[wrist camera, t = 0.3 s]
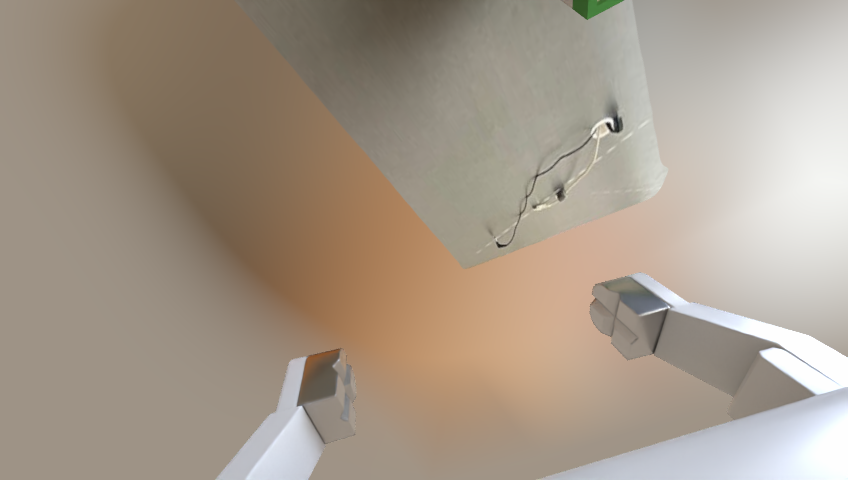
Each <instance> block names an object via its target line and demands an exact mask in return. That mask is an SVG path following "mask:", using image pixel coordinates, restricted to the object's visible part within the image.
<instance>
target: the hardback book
mask: <svg viewBox="0 0 848 480" xmlns="http://www.w3.org/2000/svg"><path fill="white" fill-rule="evenodd" d="M561 1H563V2H564V3H565V4H567V5H568V6H569V7H571V8H572V9H573V10H575V11H576V12H577V13H579V14H580V15H581V16H583V17H584V18H585V19H587V20H588V19H590V18H592V17H593V16H595V15H597V14H599V13H601V12H603V11H605V10H607V9H609V8H610V7H612V6H614V5H616V4H618V3H620V2H622V1H624V0H561Z"/></svg>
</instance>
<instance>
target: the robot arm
mask: <svg viewBox="0 0 848 480" xmlns="http://www.w3.org/2000/svg"><path fill="white" fill-rule="evenodd" d="M592 295H593V296H594V297H595V299H594V301H593V302H592V303H591V304H590V315H591V319H592V321H593V323H594V325H595V326H596V328H597V329H598V330H599V331H600V332H601V333H603V334H606V335H608V336H610V337H611V344H612V345H613V346H614V347H615V348H616V349H617V350H618V351H619V352H620V353H621V354H622V355H623V356H624V357H625V358H626V359H627V360H630V359H634V358H638V357H642V356H646V355H651V354H654V355H655V356H656V357H658V358H660V359H662V360H664V361H666V362H668V363H670V364H671V365H673V366H675V367H677V368H679V369H681V370H683V371H685V372H687V373H689V374H691V375H693V376H695V377H697V378H698V379H700V380H702V381H704V382H706V383H708V384H710V385H712V386H714V387H716V388H718V389H719V390H721V391H723V392H725V393H727V394H729V395H731V396H733V399H732V401H731V403H730V404H729V406H728V408H727V411H728V412H727V413H728V415H729V416H730V417H732V418H733V419H734V421H730V422H727V423H724V424H721V425H717V426H714V427H710V428H707V429H704V430H700V431H697V432H694V433H690V434H687V435H684V436H680V437H677V438H674V439H670V440H667V441H664V442H660V443H657V444H654V445H651V446H647V447H644V448H641V449H637V450H634V451H630V452H627V453H624V454H621V455H617V456H614V457H610V458H607V459H604V460H601V461H597V462H594V463H591V464H587V465H584V466H581V467H577V468H574V469H571V470H568V471H564V472H561V473H557V474H554V475H551V476H547V477H544V478H541V479H537V480H848V358H847V357H845V356H843V355H841V354H840V353H838V352H836V351H835V350H833V349H831V348H829V347H828V346H826V345H824V344H822V343H821V342H819V341H817V340H815V339H814V338H812V337H810V336H808V335H804V334H801V333H797V332H794V331H790V330H786V329H784V328H780V327H777V326H773V325H770V324H767V323H763V322H760V321H756V320H753V319H749V318H746V317H743V316H739V315H736V314H732V313H729V312H725V311H722V310H719V309H715V308H712V307H708V306H705V305H701V304H698V303H695V302H693V303H688V302H686V301H685V300H683V299H682V298H680V297H679V296H678V295H676V294H675V293H673V292H672V291H670V290H669V289H667V288H666V287H664V286H663V285H661V284H660V283H658V282H657V281H655V280H654V279H652V278H651V277H650V276H648V275H647V274H644V273H636V274H632V275H628V276H625V277H621V278H617V279H614V280H609V281H605V282H602V283H598V284H595V286H594V287H593V291H592ZM355 398H356V383H355V377H354V373H353V370H352V367H351V366H350V365H348V364H347V355H346V353H345V351H344V349H343V348H340V349H336V350H331V351H326V352H322V353H317V354H313V355H309V356H306V357H302V358H297V359H292V360H291V361H290V363H289V364H288V367H287V371H286V375H285V379H284V382H283V386H282V390H281V394H280V397H279V401H278V405H277V409H276V412H275V413H271V414H270V415H269V416H268V417H267V418H266V419H265V420H264V422H263V423H262V424H261V425H260V427H259V428H258V429H257V430H256V431H255V432H254V434H253V435H252V436H251V437H250V438H249V440H248V441H247V442H246V443H245V445H244V446H243V447H242V448H241V449H240V450H239V452H238V453H237V454H236V455H235V456H234V458H233V459H232V460H231V461H230V462H229V464H228V465H227V466H226V467H225V468H224V470H223V471H222V472H221V473H220V474H219V475H218V477H217V478H216V479H215V480H308V479H309V477H310V475H311V473H312V471H313V469H314V467H315V465H316V463H317V461H318V459H319V458H320V456H321V454H322V452H323V450H324V448H325V444H327V443H331V442H334V441H337V440H340V439H344V438H347V437H350V436H353V435H355V422H356V412H355V409H354V407H353V405H352V403H353V402H354V400H355Z"/></svg>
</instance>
